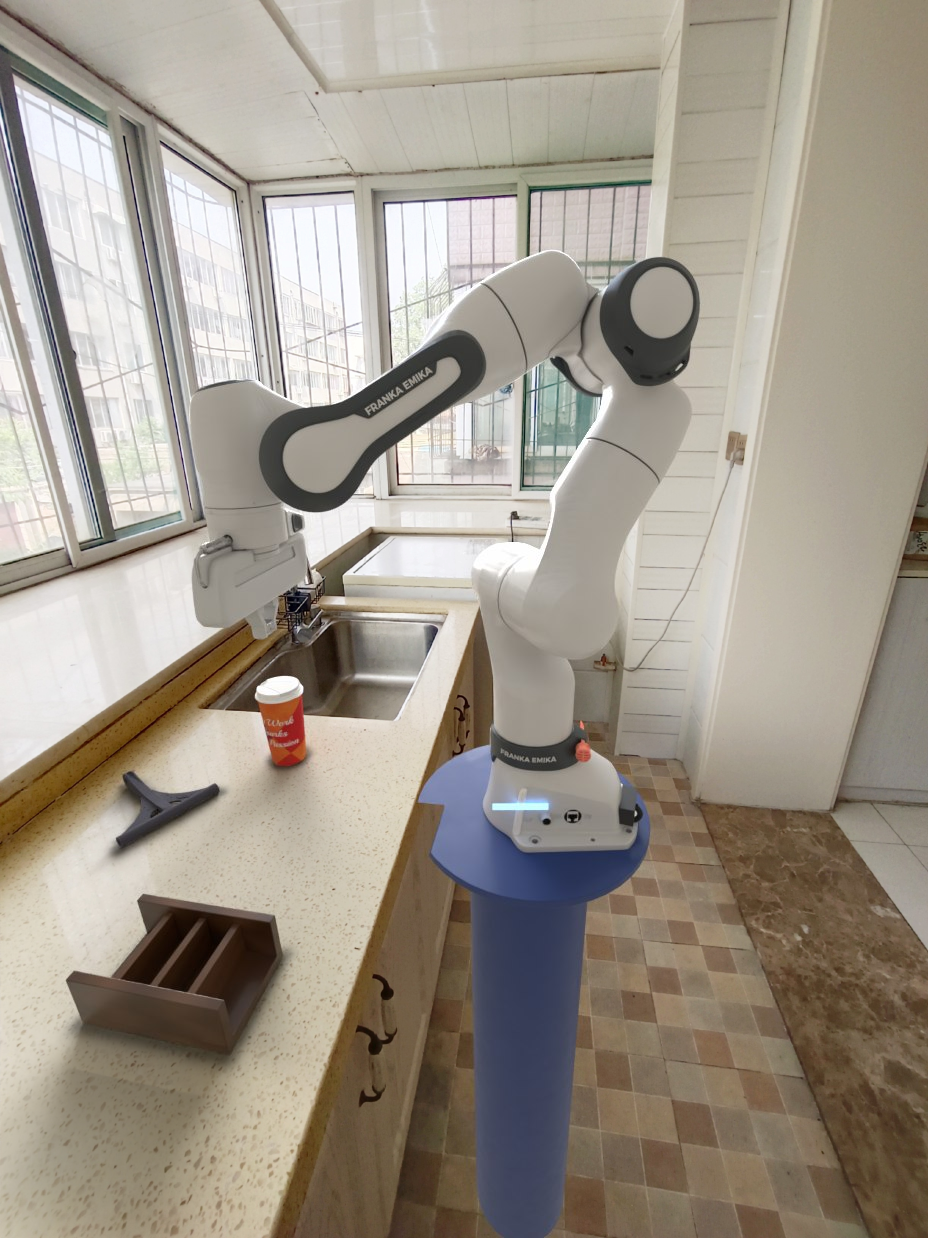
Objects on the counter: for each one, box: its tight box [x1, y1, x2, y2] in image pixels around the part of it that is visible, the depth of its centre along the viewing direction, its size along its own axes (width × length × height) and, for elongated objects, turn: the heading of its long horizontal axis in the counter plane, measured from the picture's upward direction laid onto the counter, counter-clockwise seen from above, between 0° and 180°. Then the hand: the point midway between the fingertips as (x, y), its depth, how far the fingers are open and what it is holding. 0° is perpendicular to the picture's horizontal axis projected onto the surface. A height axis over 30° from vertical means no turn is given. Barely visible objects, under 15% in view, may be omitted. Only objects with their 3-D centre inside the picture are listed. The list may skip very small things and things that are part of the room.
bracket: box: [115, 769, 220, 849], centre depth 83 cm, size 14×15×3 cm
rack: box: [65, 893, 284, 1056], centre depth 55 cm, size 16×10×6 cm, turn 79°
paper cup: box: [254, 675, 307, 767], centre depth 91 cm, size 8×8×14 cm
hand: (265, 635), depth 69 cm, fingers closed
